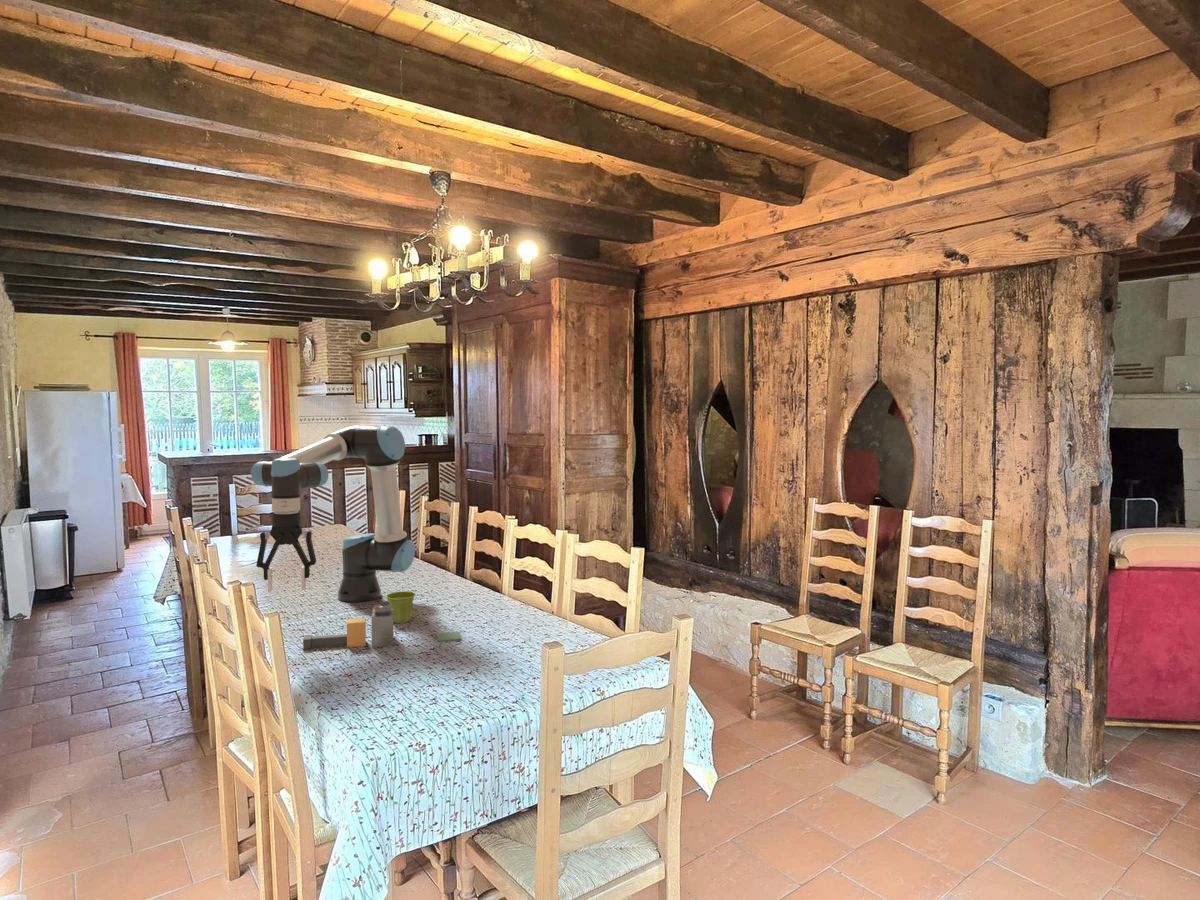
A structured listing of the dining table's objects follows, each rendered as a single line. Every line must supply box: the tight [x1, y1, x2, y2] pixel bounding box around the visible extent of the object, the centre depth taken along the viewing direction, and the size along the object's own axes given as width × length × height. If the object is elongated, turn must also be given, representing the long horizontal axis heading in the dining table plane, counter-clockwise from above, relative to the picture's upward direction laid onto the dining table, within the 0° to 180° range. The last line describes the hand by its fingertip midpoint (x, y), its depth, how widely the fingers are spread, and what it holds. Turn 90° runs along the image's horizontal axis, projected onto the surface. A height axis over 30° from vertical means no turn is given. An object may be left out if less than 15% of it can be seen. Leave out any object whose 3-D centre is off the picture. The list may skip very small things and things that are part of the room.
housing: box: [371, 603, 394, 648], centre depth 212 cm, size 9×6×11 cm
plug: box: [302, 617, 367, 651], centre depth 209 cm, size 4×17×7 cm, turn 105°
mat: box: [436, 631, 462, 643], centre depth 218 cm, size 7×7×1 cm
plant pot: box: [385, 591, 416, 624], centre depth 234 cm, size 9×9×9 cm
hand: (287, 589), depth 205 cm, fingers open, 8 cm apart
